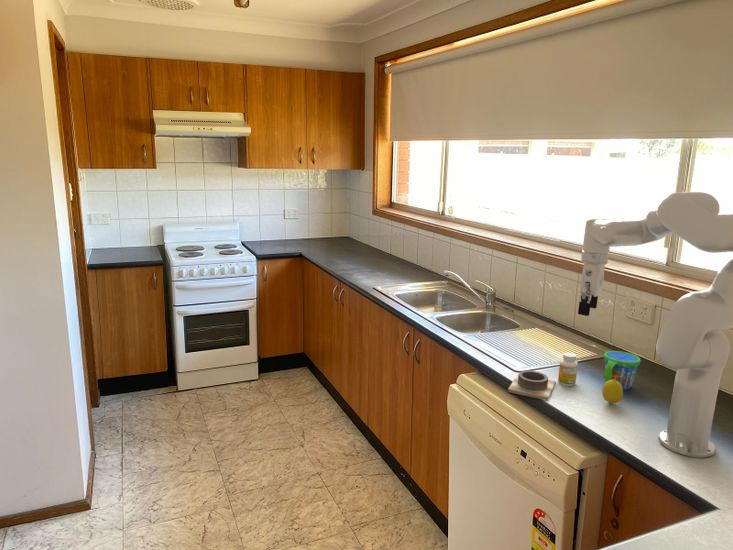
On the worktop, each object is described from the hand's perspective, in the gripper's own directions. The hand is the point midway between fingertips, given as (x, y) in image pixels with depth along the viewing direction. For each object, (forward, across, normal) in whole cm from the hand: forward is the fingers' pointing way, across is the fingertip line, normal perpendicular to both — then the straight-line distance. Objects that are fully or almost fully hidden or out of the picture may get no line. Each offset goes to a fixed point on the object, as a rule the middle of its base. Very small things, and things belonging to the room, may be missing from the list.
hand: (587, 311), depth 173 cm
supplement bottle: (+25, -1, +3) cm, 25 cm away
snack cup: (+25, +7, -11) cm, 28 cm away
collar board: (+25, -12, +11) cm, 30 cm away
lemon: (+24, -9, -12) cm, 29 cm away
